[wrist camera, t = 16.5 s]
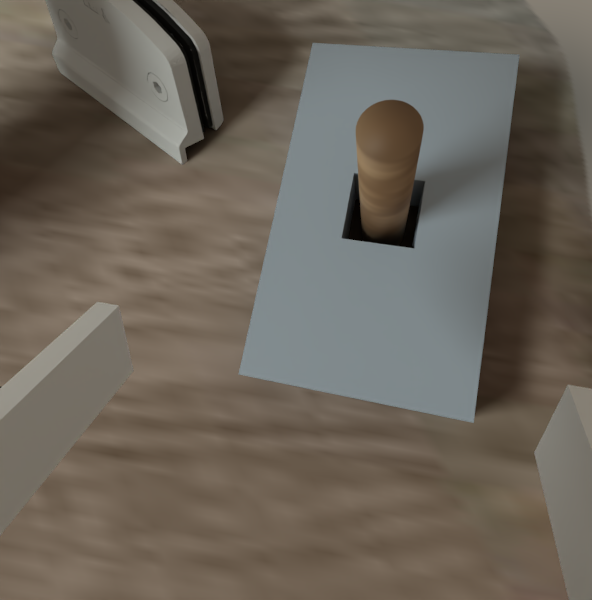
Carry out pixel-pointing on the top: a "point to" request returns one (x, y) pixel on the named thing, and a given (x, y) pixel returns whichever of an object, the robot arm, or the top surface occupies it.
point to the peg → (387, 168)
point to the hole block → (380, 257)
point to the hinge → (141, 66)
